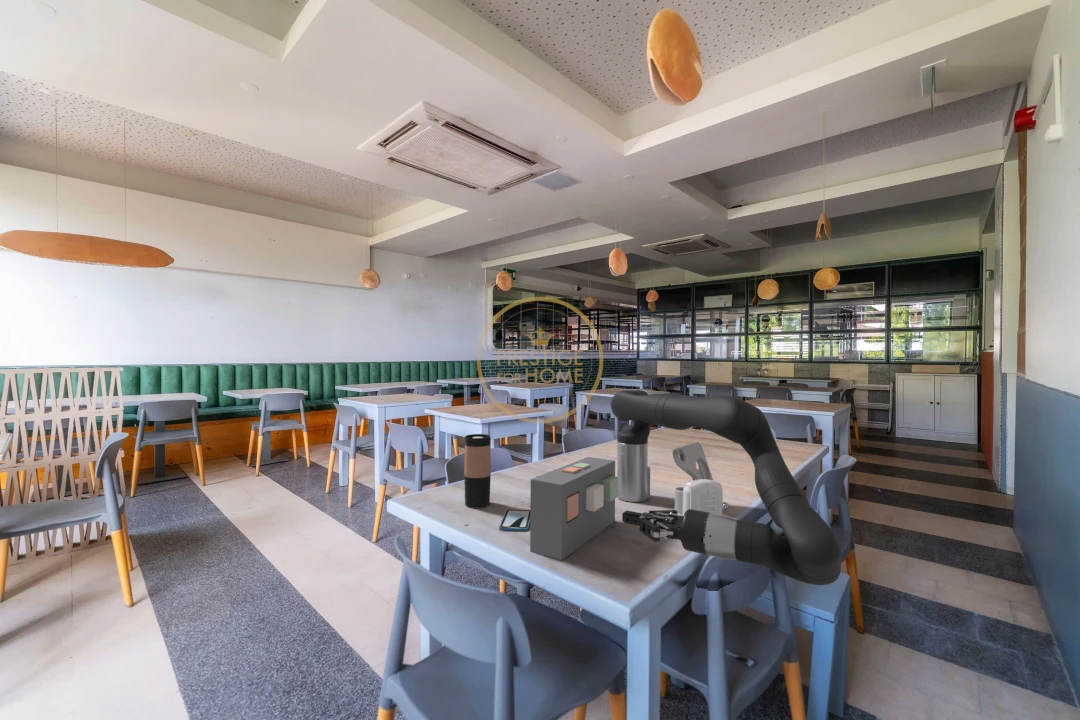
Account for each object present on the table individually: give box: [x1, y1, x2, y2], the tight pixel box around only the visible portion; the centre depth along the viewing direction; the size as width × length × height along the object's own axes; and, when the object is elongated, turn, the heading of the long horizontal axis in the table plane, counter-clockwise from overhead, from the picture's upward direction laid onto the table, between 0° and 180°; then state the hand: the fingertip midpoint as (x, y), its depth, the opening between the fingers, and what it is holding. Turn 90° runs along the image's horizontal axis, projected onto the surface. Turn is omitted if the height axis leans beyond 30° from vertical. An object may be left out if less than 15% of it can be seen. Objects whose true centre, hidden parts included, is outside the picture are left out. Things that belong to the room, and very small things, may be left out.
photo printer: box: [682, 479, 724, 516], centre depth 114 cm, size 10×4×12 cm, turn 106°
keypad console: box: [529, 456, 616, 561], centre depth 109 cm, size 8×28×16 cm, turn 147°
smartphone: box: [498, 508, 530, 532], centre depth 119 cm, size 7×1×15 cm
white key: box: [586, 483, 604, 511], centre depth 107 cm, size 4×5×5 cm
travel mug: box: [463, 433, 492, 508], centre depth 131 cm, size 8×8×20 cm
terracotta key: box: [567, 492, 579, 522], centre depth 100 cm, size 4×5×5 cm
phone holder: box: [672, 441, 730, 515], centre depth 129 cm, size 17×10×18 cm, turn 137°
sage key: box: [602, 475, 619, 501], centre depth 114 cm, size 4×5×5 cm
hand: (623, 516), depth 92 cm, fingers closed
